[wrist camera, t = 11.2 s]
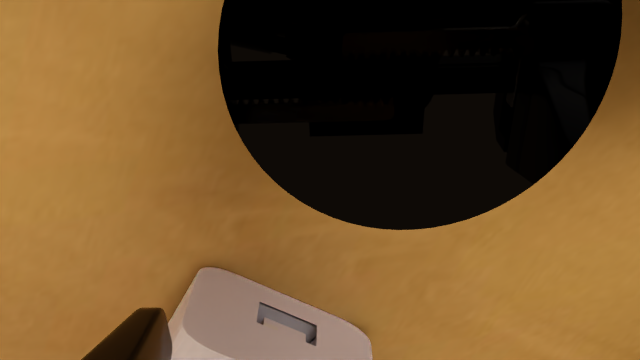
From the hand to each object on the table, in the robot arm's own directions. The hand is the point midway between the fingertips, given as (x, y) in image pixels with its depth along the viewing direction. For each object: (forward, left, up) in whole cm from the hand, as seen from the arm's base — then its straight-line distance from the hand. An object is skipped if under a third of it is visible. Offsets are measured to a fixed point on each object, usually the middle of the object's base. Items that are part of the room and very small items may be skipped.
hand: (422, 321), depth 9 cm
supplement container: (+3, -2, -13) cm, 13 cm away
